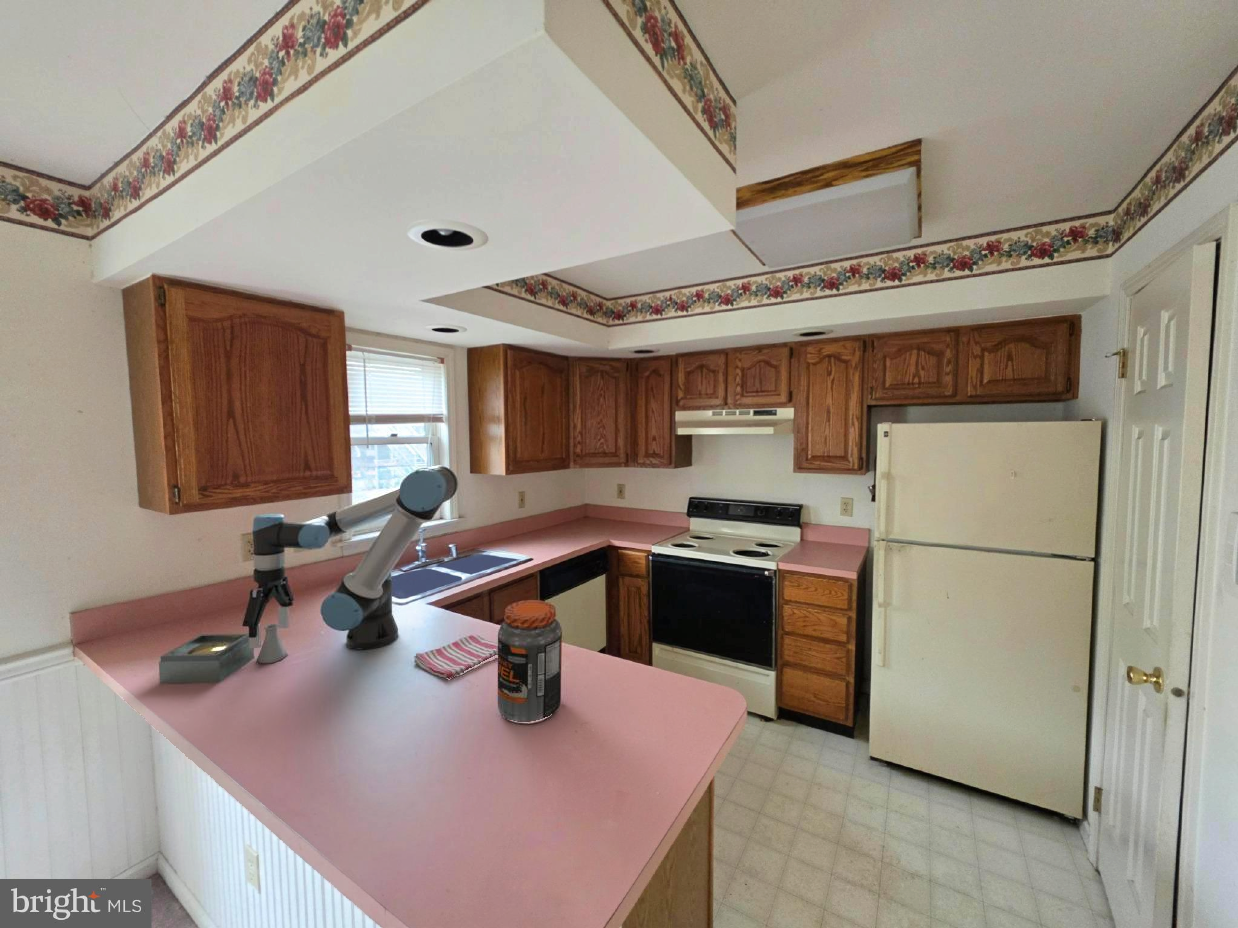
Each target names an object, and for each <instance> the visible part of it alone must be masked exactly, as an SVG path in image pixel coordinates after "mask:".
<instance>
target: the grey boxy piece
mask: <svg viewBox="0 0 1238 928" xmlns="http://www.w3.org/2000/svg"><path fill="white" fill-rule="evenodd" d="M254 649H255V648H249V632H248V633H200V634H199V635H197V636H195V637H193V638H192V639H189V640H187V641H186V642H184V643H183V644H181V645H178V646H177V647H175V648H173V649H172V650H170V651H168V652H166V653H164V654H163V655H161V656H160V661H158V673H159V685H160V684H166V685H167V684H195V683H196V684H200V683H201V684H202V683H203V684H204V683H207V684H208V683H221V682H222V681H224V680H225V679H226V678H228V677H229V676H231V675H233V673H235V672H236V671H238V670H239V669H240V668H242V667H244V665H246V664H248V663H249V662H250V661H252V660H253V659H254V658H255V652H254V651H255V650H254Z"/></svg>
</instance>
